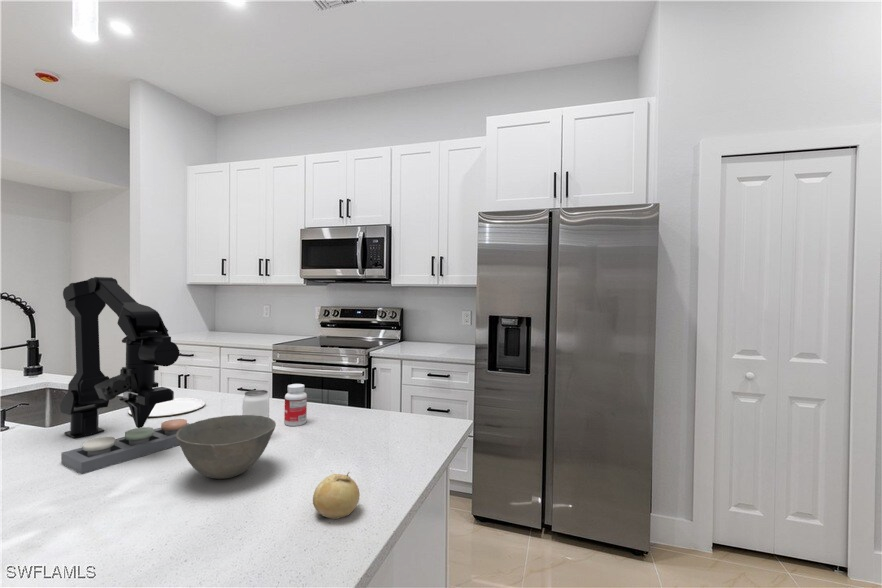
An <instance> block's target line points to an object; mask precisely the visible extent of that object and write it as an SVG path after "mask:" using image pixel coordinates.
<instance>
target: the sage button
mask: <svg viewBox="0 0 882 588" xmlns="http://www.w3.org/2000/svg"><path fill="white" fill-rule="evenodd" d="M153 429H154V427H148V426H147V427H145V426H143V427H141V428H137V427H136V428H135V427H134V428H132V429H129V430H127V431H125V432H124V437H125V439H126V440H129V445H130V446H133V445H137V444H141V443H144V442H148V441H149V437H150V436H152V435H153Z"/></svg>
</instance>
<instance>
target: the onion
mask: <svg viewBox="0 0 882 588" xmlns="http://www.w3.org/2000/svg"><path fill="white" fill-rule="evenodd" d="M350 473H351V471H348V472H347V473H346V474H343V473H342V474H341V473H338V474H337V473H333V474H330V475H328V476H326V477H325V478H323V479H322V480H321V481H320V482H319V483H318V484H317V486H316V488H315V490H314V491H313V495H312V504H313V507H314V509H315V511H316V512H317V514H318V515H320V516H322V517H325V518H327V519H340V518H344V517H348V516H349V515H350V514H351V513H352V512H353V511H354V510H355V509H356V508H357V506H358V504H359V502H360V496H361V495H360V489H359V487H358V484H357V483H356V482H355V480H354V479H353V478H351V477H350V476H349V474H350Z"/></svg>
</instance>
